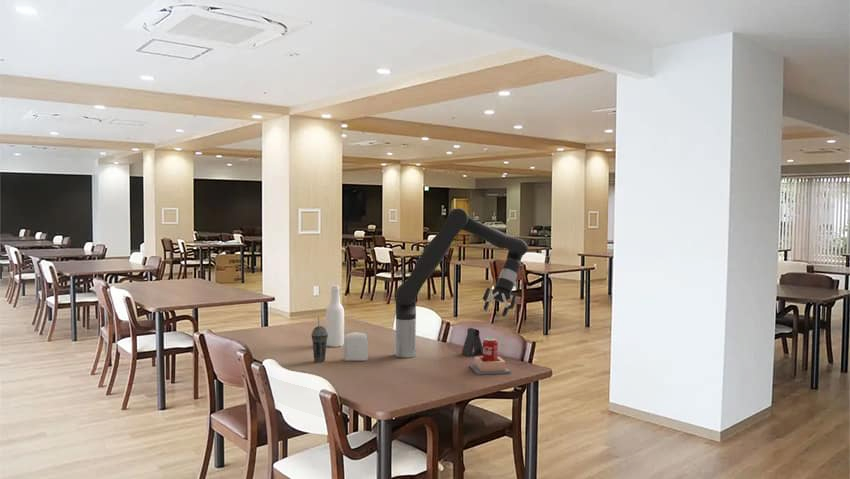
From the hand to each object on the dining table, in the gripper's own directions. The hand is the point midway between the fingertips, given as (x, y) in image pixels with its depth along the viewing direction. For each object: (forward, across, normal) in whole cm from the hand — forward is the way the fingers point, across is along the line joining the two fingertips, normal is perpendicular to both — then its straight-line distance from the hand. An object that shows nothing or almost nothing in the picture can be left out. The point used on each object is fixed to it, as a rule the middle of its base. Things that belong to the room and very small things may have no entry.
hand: (494, 313), depth 267 cm
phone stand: (+16, -9, +21) cm, 28 cm away
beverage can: (+24, +8, -3) cm, 25 cm away
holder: (+25, +8, -3) cm, 26 cm away
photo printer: (+41, -50, -7) cm, 65 cm away
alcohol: (+36, -75, +15) cm, 84 cm away
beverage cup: (+48, -62, -14) cm, 80 cm away
